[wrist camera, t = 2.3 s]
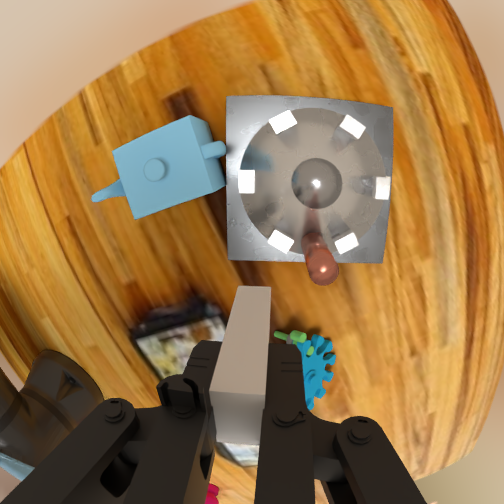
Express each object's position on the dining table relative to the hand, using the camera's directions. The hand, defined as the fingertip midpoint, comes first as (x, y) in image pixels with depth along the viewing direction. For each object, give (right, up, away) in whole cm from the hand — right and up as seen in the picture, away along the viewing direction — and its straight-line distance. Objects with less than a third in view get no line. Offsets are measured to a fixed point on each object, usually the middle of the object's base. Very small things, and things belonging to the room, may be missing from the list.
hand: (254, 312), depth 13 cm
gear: (+6, -9, +19) cm, 22 cm away
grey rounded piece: (+5, +9, +10) cm, 15 cm away
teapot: (-7, +11, +13) cm, 19 cm away
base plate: (+5, +10, +12) cm, 17 cm away
